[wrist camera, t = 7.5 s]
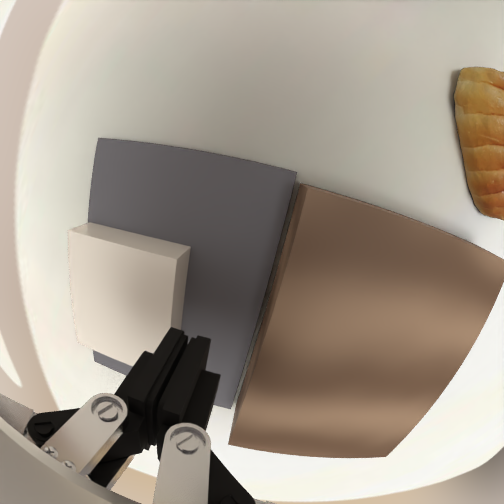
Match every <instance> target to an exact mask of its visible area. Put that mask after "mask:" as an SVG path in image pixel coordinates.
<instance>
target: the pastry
mask: <svg viewBox="0 0 504 504" xmlns="http://www.w3.org/2000/svg"><path fill="white" fill-rule="evenodd" d="M454 99H455V119H456V124H457V130H458V134H459V138H460V146H461V150H462V155H463V160H464V166H465V172H466V178H467V183H468V188H469V190H470V192H471V195H472V198H473V201H474V204H475V206H476V207H477V208H478V210H479V211H480V212H481V213H482V214H483V215H486V216H489V217H492V218H498V219H501V220H504V72H500V71H497V70H495V69H492V68H485V67H468V68H463V69H462V70H461V72H460V75H459V77H458V82H457V86H456V90H455V93H454Z"/></svg>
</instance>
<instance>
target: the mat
mask: <svg viewBox="0 0 504 504" xmlns="http://www.w3.org/2000/svg"><path fill="white" fill-rule="evenodd" d="M296 175H297V172H295V171H291V170H287V169H283V168H279V167H275V166H271V165H266V164H262V163H258V162H253V161H249V160H244V159H240V158H235V157H230V156H225V155H220V154H215V153H209V152H204V151H198V150H192V149H186V148H180V147H173V146H167V145H160V144H152V143H144V142H136V141H127V140H117V139H106V138H98V142H97V147H96V153H95V159H94V166H93V173H92V181H91V190H90V200H89V212H88V223H89V222H91V223H95V224H99V225H103V226H107V227H112V228H116V229H120V230H124V231H128V232H132V233H136V234H140V235H144V236H148V237H153V238H157V239H161V240H165V241H169V242H173V243H178V244H182V245H186V246H190V247H191V249H190V256H189V263H188V271H187V279H186V287H185V296H184V305H183V314H182V324H181V330H183V331H184V335H187V336H188V343H189V341H190V339H191V337H194V338H196V337H197V336H198V335H199V336H203V337H206V338H210V339H211V343H210V349H209V354H208V359H207V365H206V371H209V372H213V373H217V374H220V375H221V377H220V381H219V386H218V390H217V393H216V397H215V401H214V404H213V405H216V406H220V407H224V408H228V409H231V407H232V404H233V400H234V397H235V394H236V391H237V387H238V384H239V381H240V378H241V374H242V371H243V368H244V364H245V361H246V358H247V354H248V351H249V348H250V344H251V341H252V337H253V334H254V330H255V327H256V323H257V320H258V316H259V313H260V309H261V306H262V302H263V299H264V295H265V292H266V288H267V285H268V281H269V277H270V274H271V270H272V266H273V263H274V259H275V255H276V252H277V248H278V244H279V240H280V237H281V233H282V229H283V225H284V222H285V218H286V214H287V210H288V206H289V202H290V198H291V194H292V190H293V187H294V183H295V179H296ZM187 345H188V344H187ZM93 354H94V361H95V362H97V363H99V364H102V365H104V366H106V367H108V368H110V369H113V370H115V371H117V372H119V373H122V374H124V375H128V373H129V372H130V370H131V369H132V367H133V366H131V365H128V364H125V363H123V362H120V361H118V360H115V359H113V358H111V357H108V356H106V355H104V354H101V353H99V352H97V351H95V350H93Z"/></svg>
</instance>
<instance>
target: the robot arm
mask: <svg viewBox="0 0 504 504" xmlns="http://www.w3.org/2000/svg"><path fill="white" fill-rule="evenodd" d="M210 343H211V339H210V338H206V337H203V336H199V335H198V336H197V337H196V338H194V337H191V339H190V341H189V343H188V336H187V335H184V331H183V330H179V329H176V328H173V327H171V328H170V329H169V330H168V332H167V333H166V335H165V336H164V338H163V340H162V341H161V343H160V344H159V346H158V347H157V349H156V350H155V352H154V353H150V352H148V351H144V352H143V353H142V354H141V356H140V357H139V359H138V360H137V361H136V363H135V364H134V366H133V367H132V369H131V370H130V372H129V373H128V375H127V376H126V378H125V379H124V381H123V382H122V384H121V385H120V387H119V388H118V390H117V391H116V393H115V394H110V393H100V394H97V395H95V396H93V397H92V398H90V399H89V400H88V401H87V402H86V403H85V404H84V405H83V406H82V407H81V408H77V409H70V410H62V411H54V412H45V413H39V414H37V413H35V412H34V410H33V409H30V408H28V407H26V406H24V405H22V404H19V403H17V402H15V401H13V400H11V399H10V398H8V397H6V396H4V395H2V394H0V504H141V503H138V502H135V501H133V500H131V499H128V498H126V497H124V496H121V495H119V494H117V493H115V492H113V491H110V490H111V488H112V487H113V486H114V484H115V483H116V481H117V480H118V479H119V477H120V476H121V475H122V473H123V472H124V471H125V469H126V468H127V467H128V465H129V464H130V462H131V461H132V460H133V458H134V456H135V454H139V453H142V451H143V449H146V450H149V448H150V446H151V445H153V446H156V444H157V454H158V460H159V461H160V465H159V470H158V475H157V482H156V487H155V493H154V499H153V504H275V503H272V502H268V501H266V502H263V501H260V500H257V499H254V498H252V496H251V495H250V494H249V493H248V492H247V491H246V490H245V489H244V488H243V487H242V485H241V484H240V483H239V482H238V481H237V480H236V479H235V478H234V477H233V475H232V474H231V473H230V472H229V471H228V470H227V468H226V467H225V466H224V465H223V464H222V463H221V461H220V460H219V459H218V458H217V456H216V455H215V454H214V453H213V451H212V450H211V441H210V437H209V435H208V433H207V432H206V428H207V425H208V421H209V418H210V415H211V411H212V408H213V404H214V401H215V397H216V393H217V390H218V386H219V381H220V377H221V375H220V374H217V373H213V372H209V371H206V365H207V359H208V354H209V349H210ZM187 344H188V345H187Z"/></svg>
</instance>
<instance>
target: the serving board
mask: <svg viewBox="0 0 504 504" xmlns="http://www.w3.org/2000/svg"><path fill="white" fill-rule="evenodd" d="M503 282H504V259H502V258H500V257H498V256H496V255H494V254H493V253H491V252H489V251H487V250H485V249H483V248H481V247H479V246H477V245H475V244H473V243H471V242H469V241H466V240H464V239H462V238H459V237H457V236H455V235H452V234H450V233H447V232H445V231H443V230H440V229H438V228H435V227H433V226H430V225H428V224H425V223H422V222H420V221H417V220H414V219H412V218H409V217H406V216H404V215H401V214H398V213H395V212H392V211H389V210H387V209H384V208H381V207H378V206H375V205H372V204H369V203H366V202H363V201H360V200H356V199H353V198H350V197H347V196H344V195H340V194H337V193H334V192H330V191H327V190H323V189H320V188H316V187H313V186H309V185H305V184H302V183H300V185H299V189H298V193H297V197H296V201H295V205H294V209H293V212H292V216H291V220H290V224H289V228H288V231H287V235H286V239H285V242H284V246H283V250H282V253H281V257H280V261H279V264H278V268H277V271H276V275H275V278H274V282H273V285H272V289H271V292H270V296H269V299H268V303H267V306H266V310H265V313H264V316H263V320H262V323H261V327H260V330H259V333H258V337H257V340H256V343H255V346H254V350H253V353H252V356H251V359H250V363H249V366H248V369H247V372H246V375H245V379H244V382H243V385H242V388H241V391H240V394H239V397H238V400H237V403H236V408H235V413H234V418H233V423H232V428H231V433H230V438H229V443H228V444H229V445H233V446H238V447H243V448H248V449H254V450H260V451H266V452H273V453H280V454H289V455H298V456H310V457H327V458H373V457H386V456H387V455H388V454H389V453H390V452H391V451H392V450H393V449H394V448H395V447H396V446H397V445H398V444H399V443H400V442H401V441H402V440H403V439H404V438H405V437H406V436H407V435H408V434H409V433H410V432H411V430H412V429H413V428H414V427H415V426H416V425H417V424H418V423H419V421H420V420H421V419H422V418H423V417H424V415H425V414H426V413H427V412H428V411H429V409H430V408H431V407H432V406H433V404H434V403H435V402H436V400H437V399H438V398H439V396H440V395H441V394H442V392H443V391H444V390H445V388H446V387H447V385H448V384H449V383H450V381H451V380H452V378H453V377H454V375H455V374H456V372H457V371H458V369H459V368H460V366H461V365H462V363H463V361H464V360H465V358H466V356H467V355H468V353H469V351H470V350H471V348H472V346H473V345H474V343H475V341H476V339H477V337H478V336H479V334H480V332H481V330H482V328H483V326H484V324H485V322H486V320H487V318H488V316H489V314H490V312H491V310H492V308H493V306H494V303H495V301H496V299H497V297H498V294H499V292H500V289H501V287H502V284H503Z"/></svg>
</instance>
